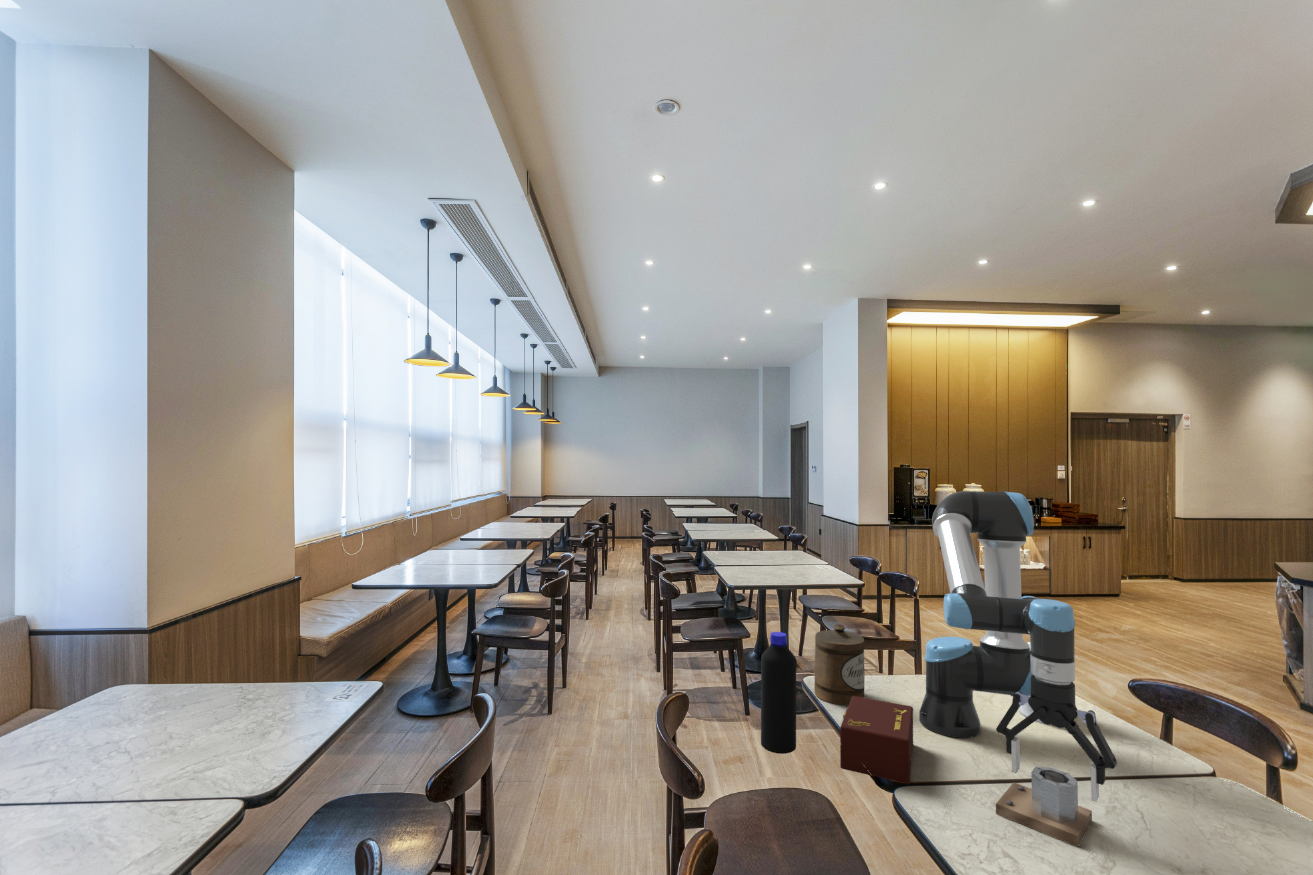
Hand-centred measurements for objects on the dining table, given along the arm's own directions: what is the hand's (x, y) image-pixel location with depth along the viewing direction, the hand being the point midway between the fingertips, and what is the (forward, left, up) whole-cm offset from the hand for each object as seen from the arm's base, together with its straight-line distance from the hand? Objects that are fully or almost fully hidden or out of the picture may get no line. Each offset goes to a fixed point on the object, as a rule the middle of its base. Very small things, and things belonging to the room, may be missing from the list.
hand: (1053, 783), depth 117 cm
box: (-37, -2, -8) cm, 38 cm away
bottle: (-56, -16, -7) cm, 59 cm away
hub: (0, 0, -5) cm, 5 cm away
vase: (-15, +56, -7) cm, 59 cm away
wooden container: (-62, +25, -7) cm, 67 cm away
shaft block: (-2, 0, -7) cm, 7 cm away
